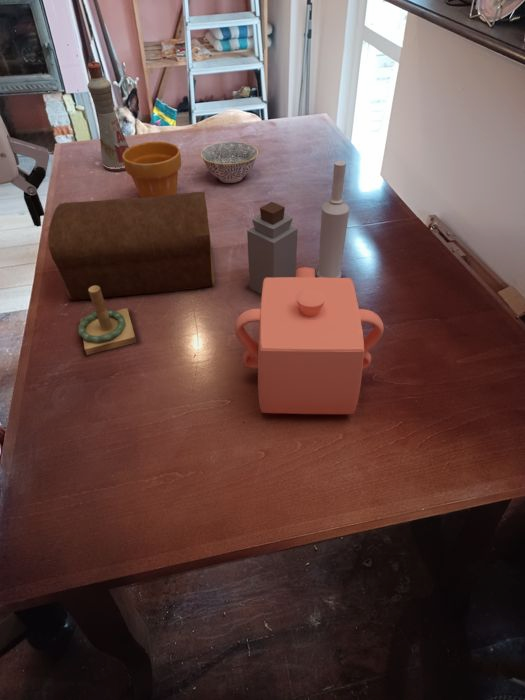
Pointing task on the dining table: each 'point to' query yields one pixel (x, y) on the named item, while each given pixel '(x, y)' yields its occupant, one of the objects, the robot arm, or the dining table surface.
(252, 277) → the perfume bottle
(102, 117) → the bottle
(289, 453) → the dining table surface
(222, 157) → the bowl
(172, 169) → the flower pot
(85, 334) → the ring
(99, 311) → the stand
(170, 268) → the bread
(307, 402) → the teapot
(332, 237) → the bottle
